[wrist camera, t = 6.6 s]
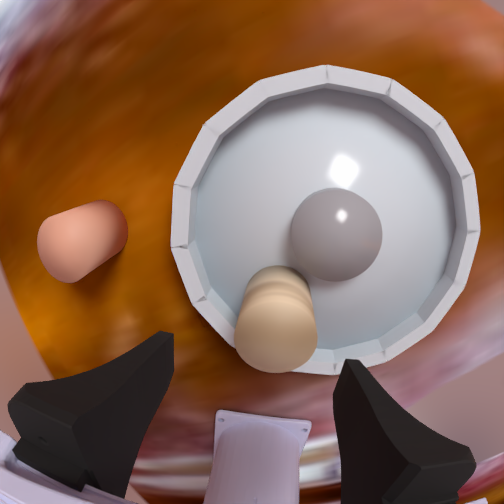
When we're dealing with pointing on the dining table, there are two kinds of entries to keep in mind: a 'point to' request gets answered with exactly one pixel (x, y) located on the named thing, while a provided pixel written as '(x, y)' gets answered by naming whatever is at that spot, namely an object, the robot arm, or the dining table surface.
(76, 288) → the dining table surface
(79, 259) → the ball
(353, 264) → the groove tray
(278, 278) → the maple bead
